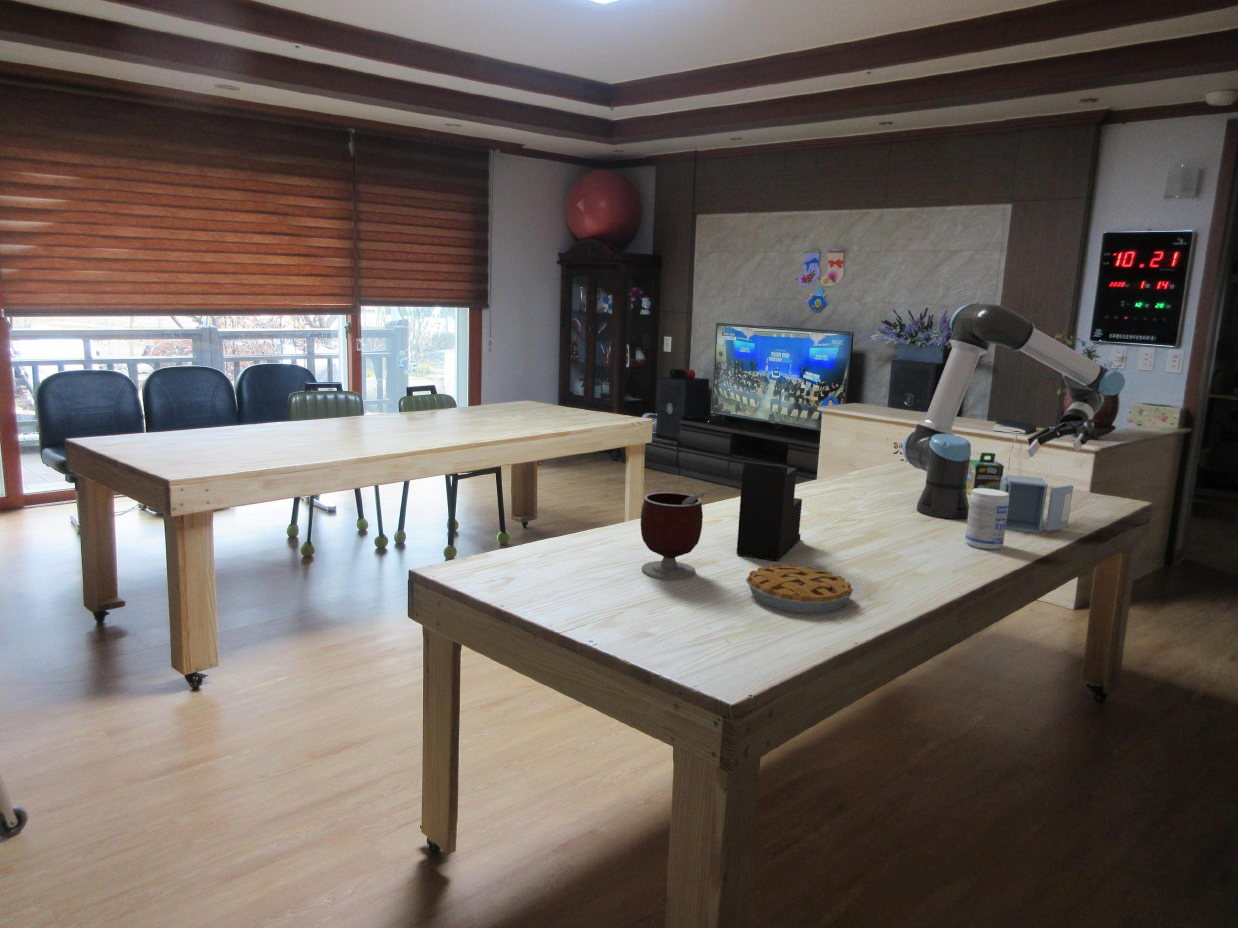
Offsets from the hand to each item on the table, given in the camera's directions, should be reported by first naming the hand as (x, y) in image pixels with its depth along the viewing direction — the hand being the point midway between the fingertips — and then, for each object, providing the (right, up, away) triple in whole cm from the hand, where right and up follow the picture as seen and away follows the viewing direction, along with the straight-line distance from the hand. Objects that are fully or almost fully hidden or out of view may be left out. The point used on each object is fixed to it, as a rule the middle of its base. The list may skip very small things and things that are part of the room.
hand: (1052, 450), depth 267 cm
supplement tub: (-33, -26, -30) cm, 52 cm away
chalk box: (-8, -15, +32) cm, 36 cm away
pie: (-92, -33, -78) cm, 125 cm away
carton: (-14, -22, -8) cm, 27 cm away
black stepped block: (-92, -26, -41) cm, 104 cm away
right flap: (-5, -23, -12) cm, 26 cm away
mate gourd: (-118, -29, -65) cm, 138 cm away
